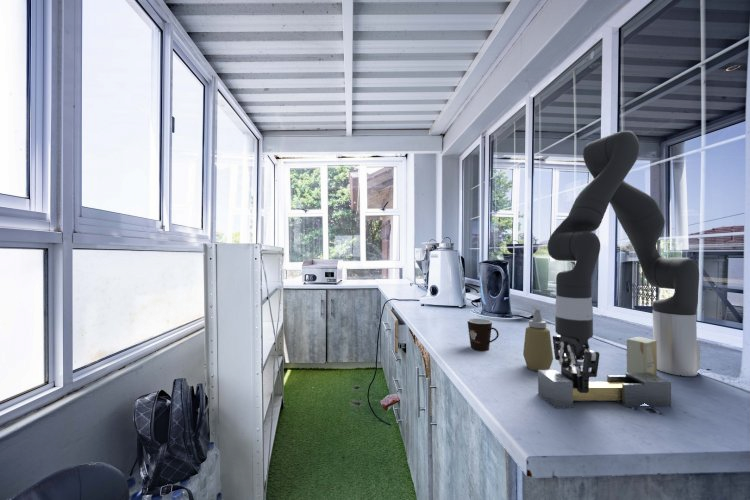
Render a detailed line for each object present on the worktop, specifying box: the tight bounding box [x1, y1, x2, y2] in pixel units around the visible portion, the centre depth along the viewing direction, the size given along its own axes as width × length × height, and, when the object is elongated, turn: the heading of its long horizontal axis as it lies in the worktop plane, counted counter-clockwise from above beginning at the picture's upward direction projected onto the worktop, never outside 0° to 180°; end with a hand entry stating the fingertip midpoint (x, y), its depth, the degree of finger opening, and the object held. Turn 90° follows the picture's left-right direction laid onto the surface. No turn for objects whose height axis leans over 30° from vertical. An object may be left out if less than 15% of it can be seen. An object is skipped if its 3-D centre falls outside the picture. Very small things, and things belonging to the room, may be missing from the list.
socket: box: [537, 369, 574, 409], centre depth 73 cm, size 4×7×6 cm, turn 179°
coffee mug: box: [466, 318, 500, 352], centre depth 111 cm, size 12×9×10 cm
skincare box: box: [626, 336, 658, 376], centre depth 80 cm, size 6×4×12 cm
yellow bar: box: [562, 366, 625, 401], centre depth 73 cm, size 18×4×6 cm, turn 89°
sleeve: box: [606, 372, 672, 407], centre depth 72 cm, size 10×5×6 cm, turn 89°
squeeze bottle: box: [522, 308, 554, 372], centre depth 93 cm, size 8×8×18 cm
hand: (574, 386), depth 73 cm, fingers open, 5 cm apart
